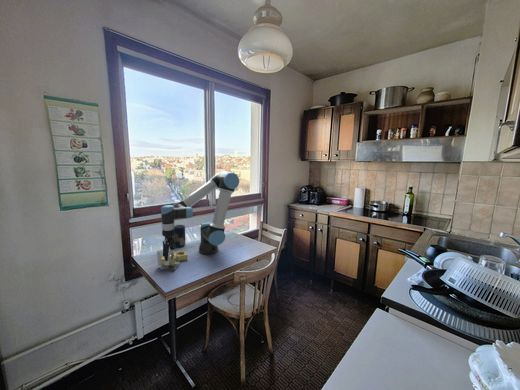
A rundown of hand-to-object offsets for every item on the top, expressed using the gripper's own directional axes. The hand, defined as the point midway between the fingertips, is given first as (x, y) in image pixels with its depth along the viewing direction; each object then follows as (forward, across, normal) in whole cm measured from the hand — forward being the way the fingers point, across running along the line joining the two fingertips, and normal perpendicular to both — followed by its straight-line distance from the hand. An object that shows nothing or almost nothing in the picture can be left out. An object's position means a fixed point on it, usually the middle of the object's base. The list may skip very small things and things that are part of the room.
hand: (169, 261), depth 147 cm
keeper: (+4, 0, -1) cm, 4 cm away
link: (0, 0, 0) cm, 0 cm away
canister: (+4, -38, -6) cm, 39 cm away
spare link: (+4, -13, +3) cm, 14 cm away
